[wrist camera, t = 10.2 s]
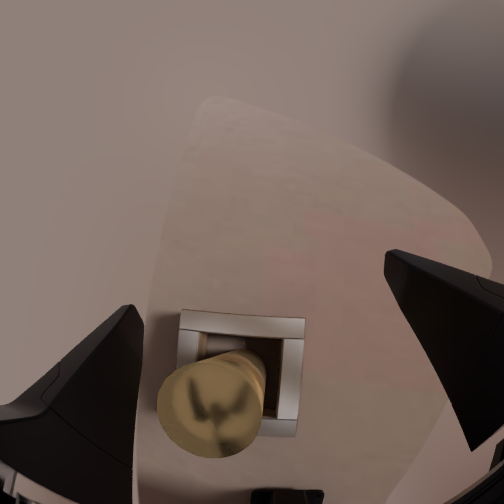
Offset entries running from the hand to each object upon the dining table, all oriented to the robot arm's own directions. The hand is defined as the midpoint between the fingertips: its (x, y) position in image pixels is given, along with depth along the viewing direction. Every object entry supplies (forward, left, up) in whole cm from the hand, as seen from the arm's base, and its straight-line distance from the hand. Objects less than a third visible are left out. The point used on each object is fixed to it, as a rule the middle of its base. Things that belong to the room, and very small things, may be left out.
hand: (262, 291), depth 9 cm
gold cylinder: (-5, +2, -14) cm, 14 cm away
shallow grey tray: (-5, +2, -14) cm, 14 cm away
